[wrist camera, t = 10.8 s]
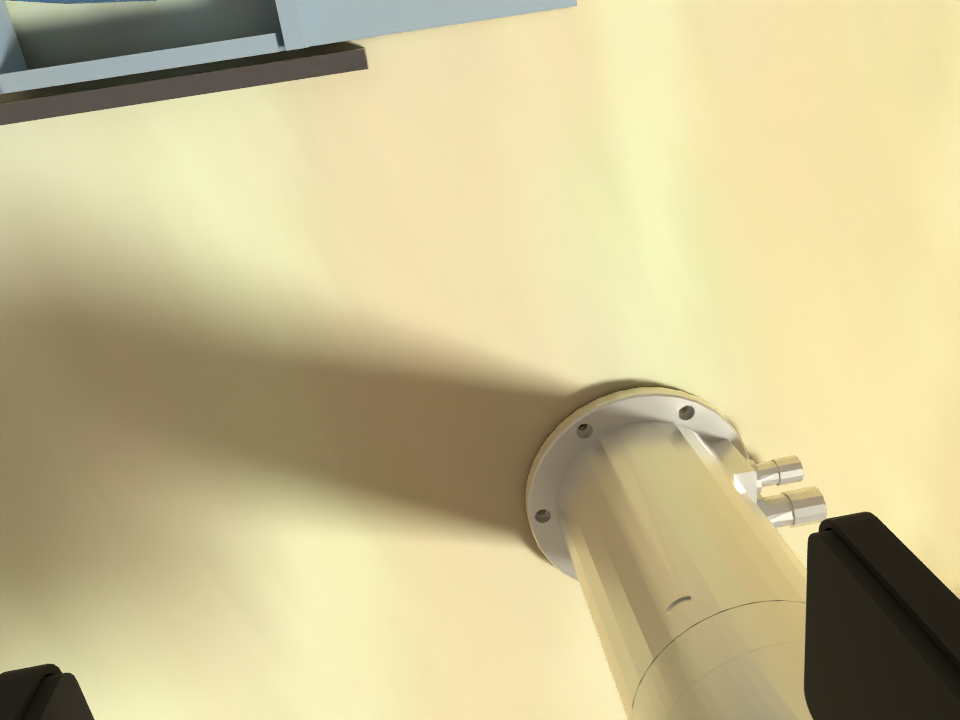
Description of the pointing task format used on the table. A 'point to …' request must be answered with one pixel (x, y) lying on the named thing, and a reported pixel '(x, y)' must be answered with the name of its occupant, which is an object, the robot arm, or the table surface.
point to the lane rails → (182, 86)
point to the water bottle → (79, 1)
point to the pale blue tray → (268, 36)
